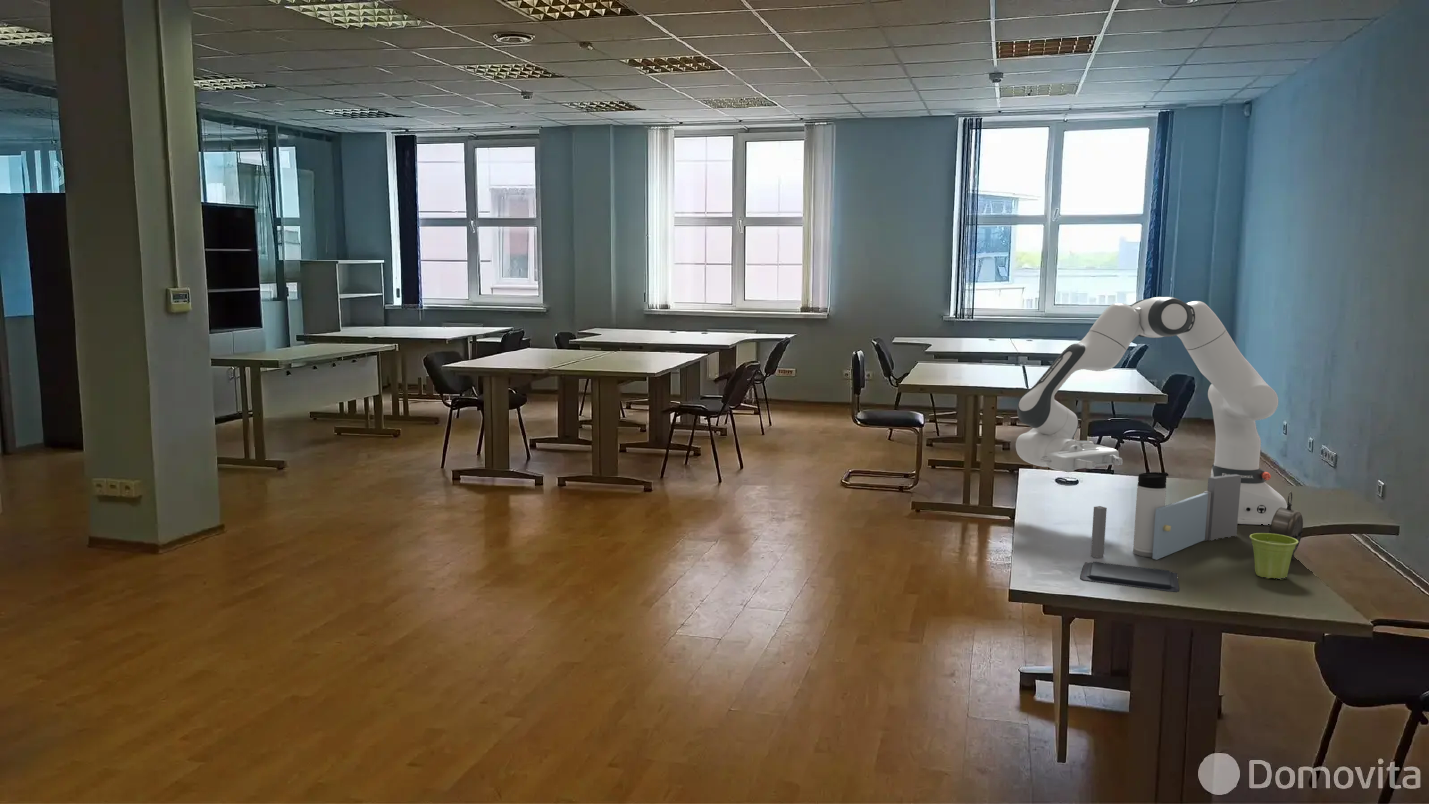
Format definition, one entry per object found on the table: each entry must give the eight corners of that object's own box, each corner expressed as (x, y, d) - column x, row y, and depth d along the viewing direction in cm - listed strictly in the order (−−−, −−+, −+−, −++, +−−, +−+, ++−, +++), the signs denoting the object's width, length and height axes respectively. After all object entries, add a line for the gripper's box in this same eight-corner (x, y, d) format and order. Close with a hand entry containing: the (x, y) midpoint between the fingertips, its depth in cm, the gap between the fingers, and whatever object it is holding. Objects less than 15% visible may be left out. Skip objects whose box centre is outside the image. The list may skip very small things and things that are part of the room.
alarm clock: (1279, 551, 238) (1284, 486, 236) (1304, 556, 235) (1310, 490, 233) (1264, 560, 231) (1270, 493, 229) (1290, 565, 227) (1296, 497, 225)
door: (1201, 538, 249) (1205, 490, 248) (1212, 540, 248) (1215, 492, 246) (1151, 559, 230) (1154, 507, 229) (1161, 561, 229) (1165, 509, 227)
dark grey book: (1078, 574, 214) (1085, 556, 228) (1078, 582, 214) (1084, 564, 228) (1179, 588, 206) (1179, 568, 219) (1179, 596, 206) (1179, 576, 219)
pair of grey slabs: (1230, 534, 254) (1234, 474, 252) (1237, 536, 252) (1242, 475, 250) (1090, 556, 233) (1094, 490, 231) (1097, 558, 231) (1101, 491, 229)
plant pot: (1275, 584, 213) (1278, 545, 212) (1237, 572, 221) (1240, 535, 220) (1304, 579, 216) (1308, 541, 215) (1265, 567, 225) (1269, 531, 224)
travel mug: (1165, 558, 232) (1171, 475, 229) (1136, 556, 233) (1141, 474, 230) (1159, 551, 238) (1164, 470, 235) (1130, 549, 239) (1135, 469, 236)
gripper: (1036, 446, 256) (1077, 455, 244) (1093, 440, 265) (1135, 448, 253) (1036, 470, 257) (1076, 480, 245) (1092, 463, 266) (1134, 471, 253)
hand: (1107, 463), depth 249 cm, fingers open, 8 cm apart
